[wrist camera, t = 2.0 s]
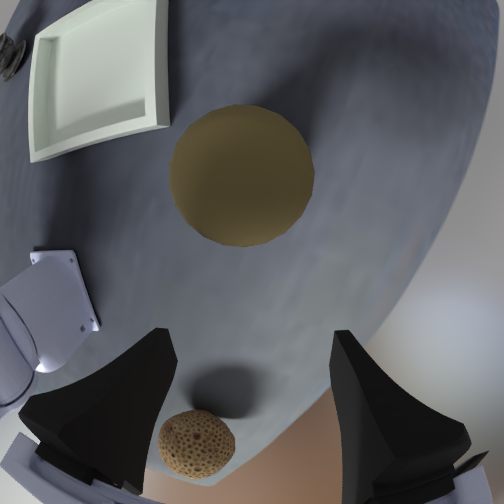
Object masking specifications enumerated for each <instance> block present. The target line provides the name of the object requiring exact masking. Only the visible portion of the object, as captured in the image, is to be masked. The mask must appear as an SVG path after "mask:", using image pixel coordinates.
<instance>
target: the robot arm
mask: <svg viewBox="0 0 504 504" xmlns="http://www.w3.org/2000/svg"><path fill="white" fill-rule="evenodd" d="M30 257H31V261H32V264H33V265H31V266H30V267H28V268H27V269H26V270H24V271H23V272H21V273H20V274H18V275H17V276H15V277H14V278H13V279H11V280H10V281H8V282H7V283H6V284H4V285H3V286H2V287H0V420H1V419H2V418H4V417H5V416H6V415H7V414H9V413H10V412H12V411H14V410H17V409H19V408H21V407H22V409H21V410H20V412H19V413H18V414H19V418H20V419H21V421H22V422H23V423H24V424H25V425H26V426H27V427H28V429H30V431H31V432H32V433H33V434H34V435H35V436H36V437H37V438H38V439H39V440H40V441H41V442H40V444H39V445H38V444H37V443H35V442H34V441H33V440H31V439H30V438H28V437H27V436H26V435H24V434H23V433H21V432H19V434H18V435H17V437H16V438H15V440H14V441H13V443H12V445H11V446H10V448H9V450H8V451H7V453H6V454H5V456H4V458H3V460H2V461H1V463H0V466H1V467H2V468H3V469H4V470H5V471H6V472H7V473H8V474H9V475H11V477H13V478H14V479H15V480H16V481H17V482H18V483H20V484H21V485H22V486H23V487H24V488H25V489H26V490H27V491H28V492H30V493H31V494H32V495H33V496H34V497H36V498H37V499H38V500H39V501H41V502H42V503H43V504H164V503H160V502H156V501H153V500H149V499H146V498H143V497H140V496H139V495H141V494H142V493H143V482H144V472H145V466H146V460H147V454H148V450H149V445H150V441H151V437H152V433H153V429H154V426H155V422H156V420H157V417H158V414H159V412H160V410H161V407H162V405H163V402H164V400H165V398H166V395H167V393H168V391H169V388H170V386H171V383H172V381H173V378H174V374H175V370H176V366H177V362H178V360H177V357H176V354H175V351H174V348H173V344H172V341H171V338H170V334H169V331H168V329H165V328H155V329H154V330H152V331H151V332H150V333H148V334H147V335H146V336H144V337H143V338H142V339H141V340H139V341H138V342H137V343H136V344H134V345H133V346H132V347H131V348H129V349H128V350H127V351H126V352H124V353H123V354H122V355H120V356H119V357H117V358H116V359H115V360H113V361H112V362H110V363H109V364H108V365H106V366H104V367H103V368H101V369H100V370H98V371H96V372H95V373H93V374H91V375H89V376H87V377H85V378H83V379H81V380H79V381H77V382H75V383H72V384H70V385H68V386H65V387H62V388H59V389H56V390H53V391H50V392H46V393H42V394H37V395H33V394H34V392H35V390H36V386H37V382H38V374H37V371H39V372H52V371H54V370H56V369H58V368H60V367H61V366H63V365H64V364H65V363H66V362H67V361H68V360H69V359H70V358H71V356H72V355H73V354H74V353H75V351H76V350H77V349H78V348H79V346H80V345H81V344H82V343H83V341H84V340H85V339H86V338H87V337H88V335H89V334H90V333H91V332H92V331H93V330H94V331H98V330H99V329H100V326H99V323H98V321H97V318H96V316H95V313H94V310H93V308H92V305H91V302H90V299H89V296H88V294H87V291H86V288H85V285H84V281H83V278H82V275H81V272H80V268H79V265H78V262H77V258H76V254H75V252H74V251H73V250H54V251H33V252H31V253H30ZM72 259H73V260H72ZM329 367H330V378H331V386H332V391H333V396H334V401H335V405H336V410H337V415H338V420H339V424H340V431H341V442H342V462H343V463H342V464H343V487H342V488H343V489H342V504H493V500H492V496H491V492H490V488H489V485H488V481H487V478H486V475H485V472H484V469H483V466H482V465H480V466H478V467H476V468H474V469H472V470H470V471H468V472H466V473H464V474H462V475H460V476H458V477H456V478H454V479H453V478H452V473H454V471H455V469H454V466H453V464H454V463H455V462H456V461H457V460H458V459H459V458H461V457H462V456H463V455H464V454H465V453H466V452H467V451H468V450H469V448H470V446H471V444H472V443H471V440H470V437H469V435H468V432H467V430H466V428H465V426H464V424H463V423H461V422H458V421H456V420H453V419H451V418H449V417H447V416H444V415H442V414H440V413H439V412H437V411H435V410H433V409H431V408H429V407H428V406H426V405H425V404H423V403H422V402H420V401H418V400H417V399H415V398H414V397H413V396H411V395H410V394H409V393H407V392H406V391H405V390H404V389H402V388H401V387H400V386H399V385H398V384H396V383H395V382H394V381H393V380H392V379H391V378H390V377H389V376H388V375H387V374H386V373H385V372H384V371H383V370H382V369H381V368H380V367H379V366H378V365H377V364H376V363H375V361H374V360H373V359H372V358H371V357H370V356H369V355H368V353H367V352H366V351H365V350H364V348H363V347H362V346H361V345H360V343H359V342H358V341H357V340H356V338H355V337H354V336H353V334H352V333H351V332H350V331H349V330H338V331H335V332H334V338H333V345H332V351H331V357H330V363H329Z"/></svg>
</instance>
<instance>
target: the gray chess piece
mask: <svg viewBox="0 0 504 504" xmlns="http://www.w3.org/2000/svg"><path fill="white" fill-rule="evenodd" d="M25 48H26V41H25V40H23V41H21V42H20V43H19V44H18V45H16V47H15V48H14V42H13V40H12V39H11V38H10V37H8V36H6V33H3V34H2V35H1V36H0V74H1V73H2V72H3V80H4V82H7V81H9V80H10V78H11V77H12V76H13V74H14V73H15V71H16V69H17V68H18V65H19V63H20V61H21V59H22V57H23V54H24V52H25Z"/></svg>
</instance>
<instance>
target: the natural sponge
mask: <svg viewBox="0 0 504 504" xmlns="http://www.w3.org/2000/svg"><path fill="white" fill-rule="evenodd" d="M158 447H159V452H160V455H161V457H162V459H163V461H164V462H165V464H166V465H167V466H168V467H169V468H170V469H171V470H172V471H174V472H175V473H178V474H179V475H182V476H184V477H187V478H190V479H202V478H206V477H208V476H211V475H213V474H215V473H217V472H218V471H220V470H221V469H222V468H223V467H224V466H225V465H226V464H227V463H228V462H229V460H230V459H231V458H232V456H233V454H234V452H235V438H234V435H233V434H232V433H231V432H230V429H229V428H228V427H227V425H226V424H225V423H224V422H223V421H222V420H221V419H219V418H218V417H216V416H214V415H213V414H212V413H210V412H208V411H206V410H191V411H187V412H183V413H181V414H178V415H175V416H173V417H171V418H170V419H168V420H167V421H166V422H165V423H164V424H163V425H162V427H161V430H160V433H159V437H158Z"/></svg>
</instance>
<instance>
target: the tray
mask: <svg viewBox="0 0 504 504" xmlns="http://www.w3.org/2000/svg"><path fill="white" fill-rule="evenodd" d="M168 4H169V0H93V1H91V2H89V3H87V4H85V5H83V6H81V7H79V8H78V9H76V10H74V11H72V12H71V13H69V14H67V15H66V16H64V17H62V18H61V19H59V20H58V21H56V22H55V23H53V24H52V25H50V26H49V27H47V28H46V29H44V30H43V31H41V32H40V33H39V34H37V35H36V37H35V43H34V49H33V55H32V63H31V72H30V84H29V107H28V124H29V147H30V160H31V163H34V162H39V161H43V160H48V159H51V158H54V157H56V156H59V155H62V154H65V153H68V152H71V151H74V150H77V149H80V148H83V147H86V146H90V145H93V144H97V143H100V142H104V141H107V140H111V139H115V138H119V137H123V136H127V135H132V134H136V133H140V132H145V131H150V130H155V129H160V128H166V127H170V113H169V92H168Z"/></svg>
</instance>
